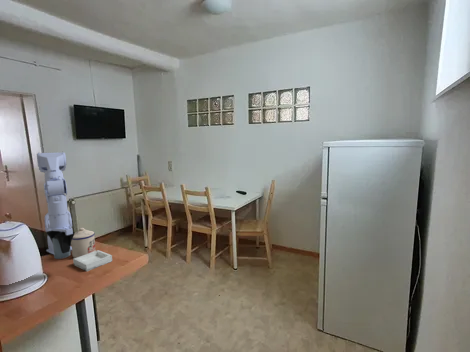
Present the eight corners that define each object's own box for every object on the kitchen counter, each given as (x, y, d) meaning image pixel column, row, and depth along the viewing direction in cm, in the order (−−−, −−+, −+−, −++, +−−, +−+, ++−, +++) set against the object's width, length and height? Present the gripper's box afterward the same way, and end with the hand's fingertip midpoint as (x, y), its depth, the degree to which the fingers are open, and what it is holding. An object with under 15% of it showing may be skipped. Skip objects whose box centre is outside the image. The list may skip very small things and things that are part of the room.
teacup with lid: (92, 257, 110) (90, 230, 108) (68, 260, 108) (65, 232, 106) (100, 246, 121) (98, 222, 120) (79, 248, 120) (76, 223, 118)
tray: (73, 264, 103) (73, 258, 103) (98, 255, 111) (98, 250, 111) (86, 271, 98) (86, 264, 97) (112, 261, 106) (111, 255, 106)
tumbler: (51, 256, 95) (49, 237, 94) (67, 251, 99) (65, 233, 98) (58, 260, 92) (56, 240, 91) (73, 254, 96) (71, 236, 95)
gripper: (36, 213, 94) (41, 250, 96) (54, 219, 86) (59, 259, 88) (58, 209, 100) (62, 243, 102) (77, 214, 92) (81, 251, 93)
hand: (62, 250), depth 95 cm, fingers closed on tumbler, 5 cm apart
